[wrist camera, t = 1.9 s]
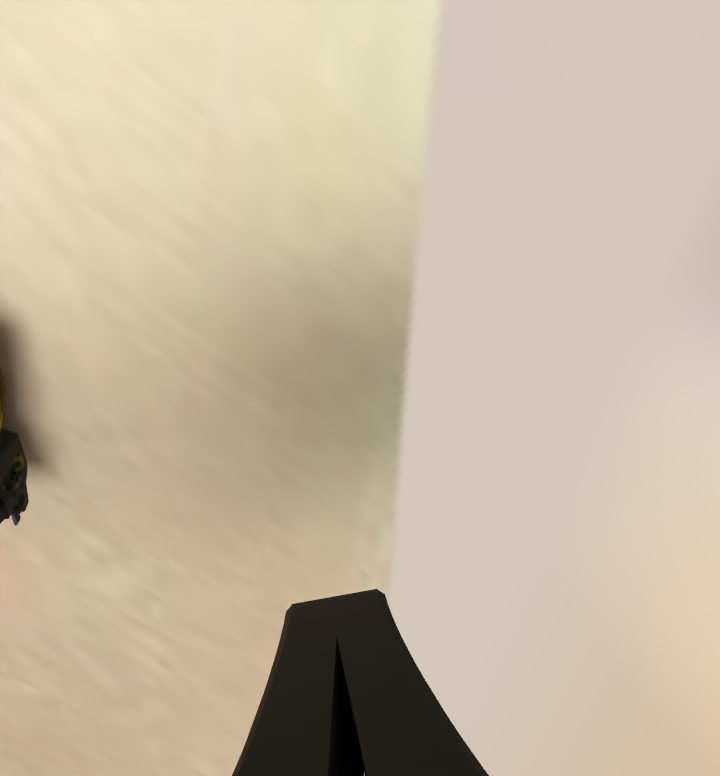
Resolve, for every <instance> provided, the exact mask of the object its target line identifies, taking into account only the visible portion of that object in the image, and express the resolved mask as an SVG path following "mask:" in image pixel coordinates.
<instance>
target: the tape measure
mask: <svg viewBox="0 0 720 776" xmlns="http://www.w3.org/2000/svg"><path fill="white" fill-rule="evenodd" d="M5 404H6V393H5V384H4V379H3V375H2V373H1V370H0V523H1V522H2V521H3V520H4V519H8V518H9V517H10V515H11V516H12V519H13V522H14V524H15V525H17V524H18V522H19V521H20V515H19V514H20V513H21V512H24V511H25V510H26V507H27V504H28V494H27V487H26V478H27V461H26V458H25V455H24V451H23V448H22V446H21V443H20V440H19V437H18V435H17V434H16V433H12V432H9V431H6V430H3V429H2V424H3V419H4V413H5Z"/></svg>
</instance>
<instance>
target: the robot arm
mask: <svg viewBox="0 0 720 776" xmlns="http://www.w3.org/2000/svg"><path fill="white" fill-rule="evenodd" d="M364 773H365V776H489V775H488V774H487V773H486V771H485V770H484V769H483V767H482V766H481V764H480V763H479V761H478V760H477V759H476V757H475V756H474V754H473V753H472V752H471V750H470V749H469V747H468V746H467V745H466V743H465V742H464V740H463V739H462V737H461V736H460V734H459V733H458V731H457V730H456V728H455V727H454V725H453V724H452V722H451V721H450V719H449V718H448V716H447V715H446V713H445V712H444V710H443V708H442V707H441V705H440V704H439V702H438V700H437V699H436V697H435V695H434V694H433V692H432V691H431V689H430V687H429V686H428V684H427V682H426V681H425V679H424V678H423V676H422V674H421V672H420V671H419V669H418V667H417V665H416V664H415V662H414V660H413V658H412V656H411V654H410V653H409V651H408V649H407V647H406V645H405V643H404V641H403V639H402V637H401V635H400V633H399V630H398V628H397V626H396V624H395V622H394V619H393V617H392V614H391V612H390V609H389V606H388V604H387V600H386V597H385V594H384V593H382V592H380V591H379V590H377V589H374V590H368V591H363V592H357V593H352V594H346V595H341V596H335V597H330V598H324V599H318V600H313V601H307V602H302V603H296V604H292V605H291V607H290V608H289V609H288V610H287V611H286V615H285V620H284V625H283V630H282V634H281V638H280V642H279V646H278V649H277V653H276V656H275V660H274V663H273V666H272V669H271V673H270V676H269V679H268V682H267V685H266V688H265V691H264V694H263V697H262V700H261V702H260V705H259V708H258V711H257V713H256V716H255V719H254V722H253V724H252V727H251V730H250V733H249V735H248V738H247V741H246V743H245V746H244V748H243V751H242V754H241V756H240V758H239V761H238V763H237V765H236V768H235V770H234V772H233V775H232V776H364Z"/></svg>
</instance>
